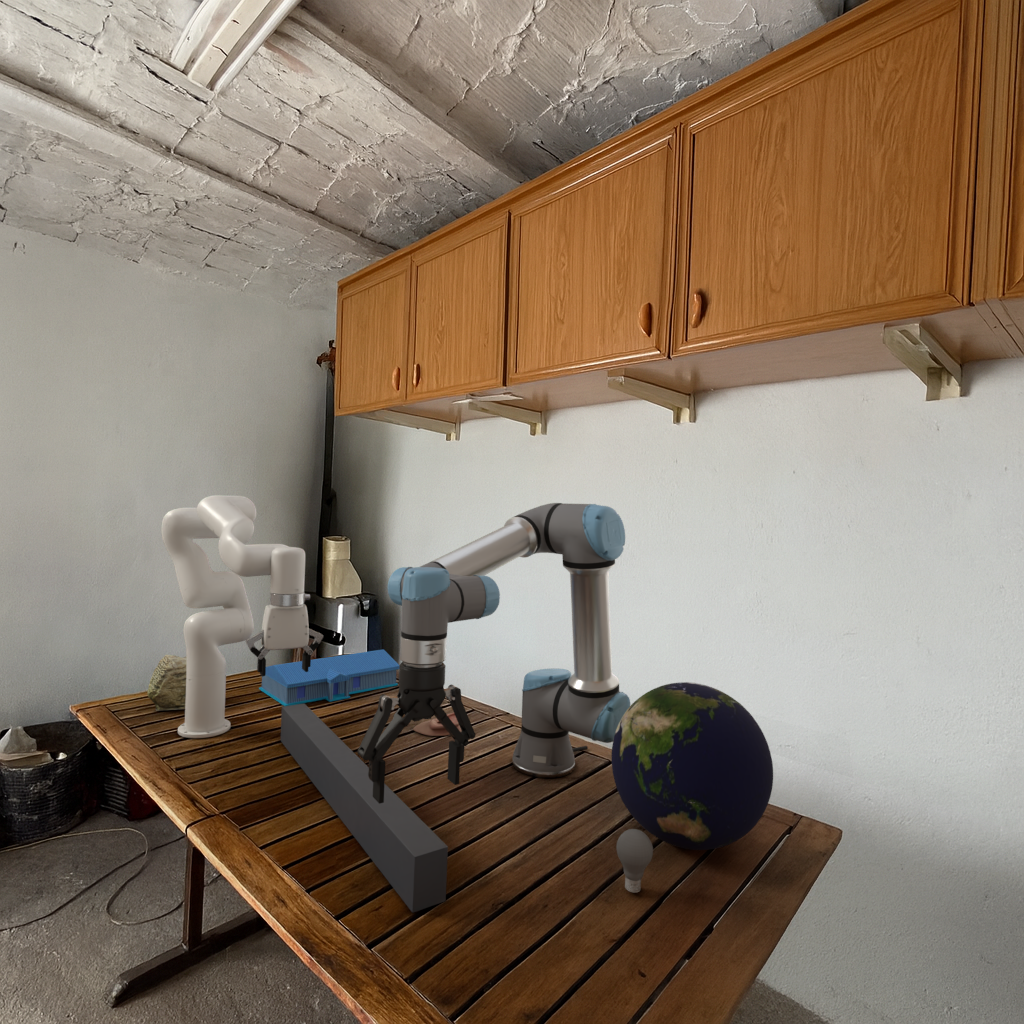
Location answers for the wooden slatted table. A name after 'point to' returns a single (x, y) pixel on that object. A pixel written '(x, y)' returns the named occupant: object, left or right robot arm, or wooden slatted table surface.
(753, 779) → the globe
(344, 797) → the beam
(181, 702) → the fossil
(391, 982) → the wooden slatted table surface
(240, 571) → the left robot arm
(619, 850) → the light bulb
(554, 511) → the right robot arm
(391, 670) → the model building
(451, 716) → the anatomical model
